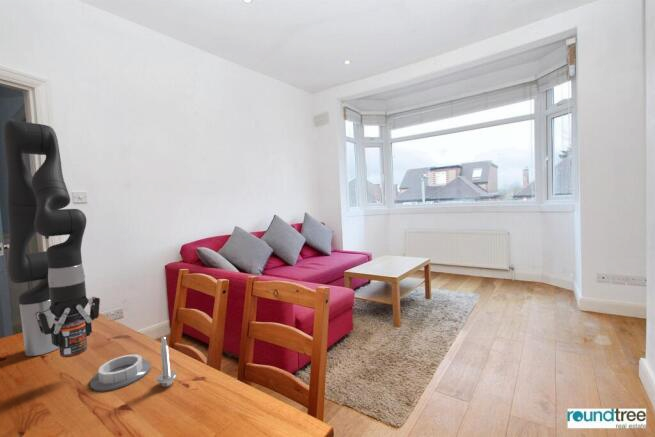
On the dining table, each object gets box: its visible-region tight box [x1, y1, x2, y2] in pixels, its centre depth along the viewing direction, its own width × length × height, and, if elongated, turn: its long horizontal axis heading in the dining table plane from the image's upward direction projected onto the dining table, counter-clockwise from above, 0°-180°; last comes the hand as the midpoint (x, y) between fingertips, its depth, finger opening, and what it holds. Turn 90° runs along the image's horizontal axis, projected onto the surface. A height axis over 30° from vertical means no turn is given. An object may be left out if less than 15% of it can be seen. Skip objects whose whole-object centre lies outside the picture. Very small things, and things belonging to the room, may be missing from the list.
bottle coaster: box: [89, 354, 152, 392], centre depth 85 cm, size 14×14×3 cm
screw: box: [155, 336, 178, 388], centre depth 79 cm, size 13×5×5 cm
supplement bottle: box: [58, 313, 88, 358], centre depth 84 cm, size 6×6×11 cm
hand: (72, 340), depth 84 cm, fingers closed on supplement bottle, 6 cm apart
